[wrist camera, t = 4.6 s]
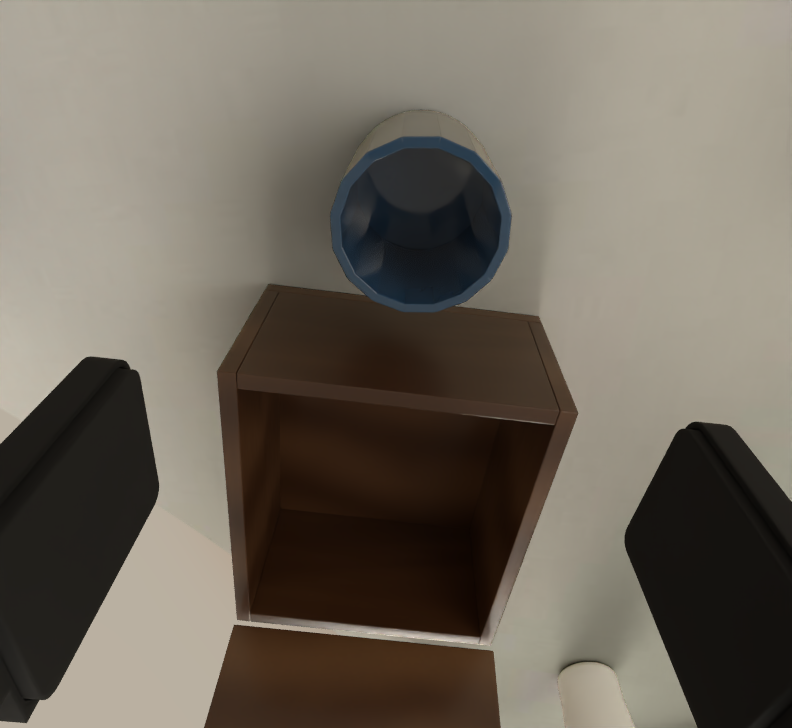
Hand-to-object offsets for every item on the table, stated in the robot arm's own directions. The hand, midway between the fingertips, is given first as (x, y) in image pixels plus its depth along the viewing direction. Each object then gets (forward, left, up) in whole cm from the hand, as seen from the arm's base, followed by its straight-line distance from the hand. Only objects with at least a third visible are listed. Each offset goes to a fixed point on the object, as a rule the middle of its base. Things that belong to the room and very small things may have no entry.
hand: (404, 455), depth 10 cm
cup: (0, 0, -20) cm, 20 cm away
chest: (+12, +10, -20) cm, 25 cm away
